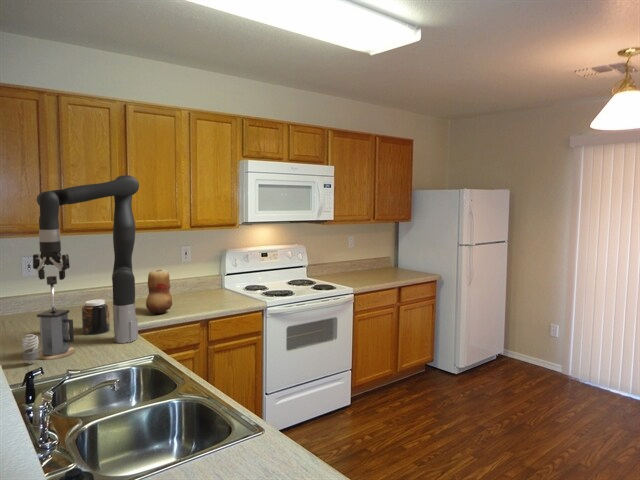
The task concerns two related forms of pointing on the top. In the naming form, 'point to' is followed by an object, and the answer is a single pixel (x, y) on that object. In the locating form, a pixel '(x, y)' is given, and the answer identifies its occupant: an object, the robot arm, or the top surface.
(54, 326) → the carafe
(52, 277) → the plunger
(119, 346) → the top surface
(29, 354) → the light bulb
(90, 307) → the jar
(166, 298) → the butternut squash
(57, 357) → the disc
